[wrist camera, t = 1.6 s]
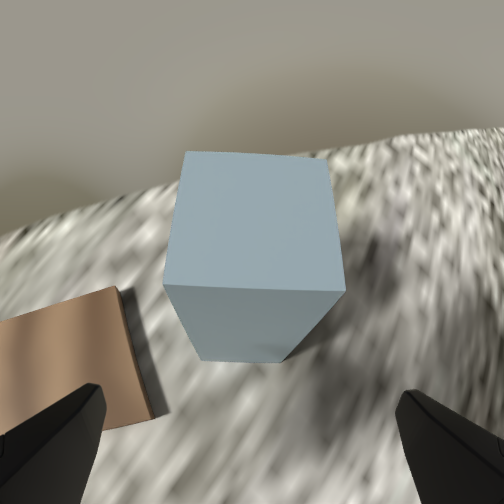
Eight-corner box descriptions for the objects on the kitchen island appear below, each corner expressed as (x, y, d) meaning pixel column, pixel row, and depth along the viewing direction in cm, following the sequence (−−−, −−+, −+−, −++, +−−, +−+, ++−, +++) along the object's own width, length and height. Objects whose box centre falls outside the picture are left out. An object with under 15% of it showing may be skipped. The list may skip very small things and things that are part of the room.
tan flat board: (120, 292, 21) (114, 285, 20) (155, 418, 17) (150, 418, 16) (-36, 340, 17) (-45, 336, 16) (-20, 445, 14) (-29, 445, 13)
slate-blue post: (280, 362, 20) (346, 291, 9) (201, 360, 19) (162, 283, 8) (279, 290, 22) (326, 159, 11) (205, 287, 22) (185, 151, 11)
